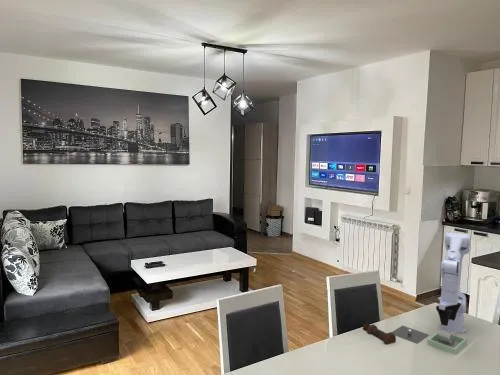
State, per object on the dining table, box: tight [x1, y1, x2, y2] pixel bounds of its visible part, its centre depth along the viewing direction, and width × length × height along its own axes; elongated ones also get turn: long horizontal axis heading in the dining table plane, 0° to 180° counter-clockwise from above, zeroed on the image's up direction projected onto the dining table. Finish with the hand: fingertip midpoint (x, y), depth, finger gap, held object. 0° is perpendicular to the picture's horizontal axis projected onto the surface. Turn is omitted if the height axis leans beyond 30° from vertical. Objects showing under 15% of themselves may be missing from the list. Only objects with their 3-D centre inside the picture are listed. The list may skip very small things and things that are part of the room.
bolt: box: [362, 323, 397, 345], centre depth 155 cm, size 6×5×15 cm
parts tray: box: [426, 330, 468, 355], centre depth 148 cm, size 12×10×3 cm
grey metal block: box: [437, 325, 455, 347], centre depth 148 cm, size 4×4×6 cm
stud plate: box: [391, 325, 430, 345], centre depth 157 cm, size 12×12×3 cm
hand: (447, 322), depth 148 cm, fingers open, 7 cm apart
